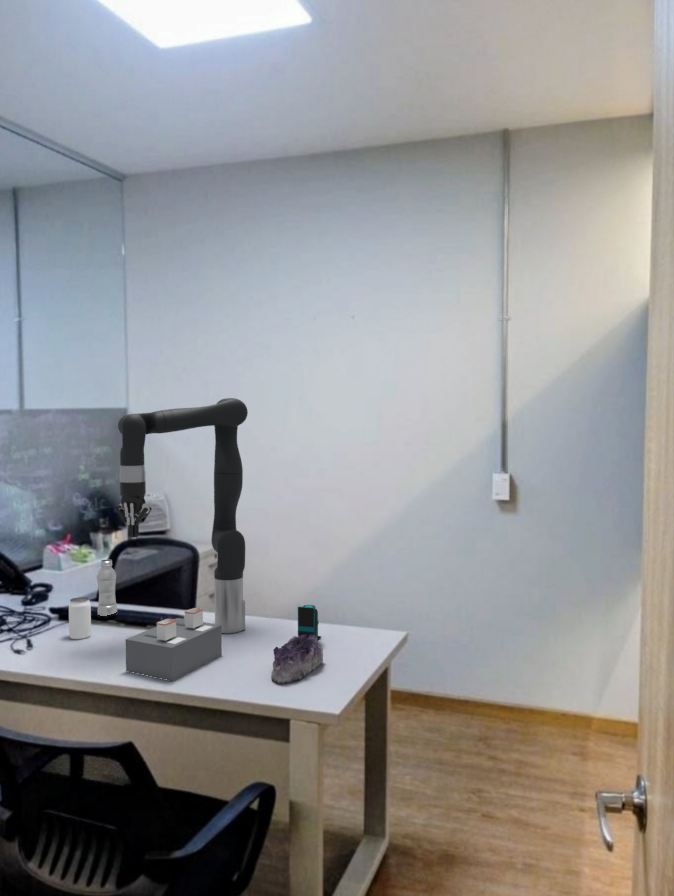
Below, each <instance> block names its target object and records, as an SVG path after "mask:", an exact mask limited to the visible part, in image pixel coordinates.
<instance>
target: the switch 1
mask: <svg viewBox="0 0 674 896" xmlns="http://www.w3.org/2000/svg"><path fill="white" fill-rule="evenodd" d="M174 619H175V618H174ZM174 619H173V618H165V619H163V620H159V621H157V622H156V623H155V624H156V627H157V639H159V640H164V641H166V640H169V639H171V638H173V637H175V636H176V620H174Z"/></svg>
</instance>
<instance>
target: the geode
mask: <svg viewBox="0 0 674 896" xmlns="http://www.w3.org/2000/svg"><path fill="white" fill-rule="evenodd" d="M323 650H324V649H323V648H322V647H321V646H319V645H318V641H317V638H316V636H315V635H309V637H308V638H307V634H306V635H302V636H299V637H298V635H294V636H292V637H290V639H288V641H287V643H284V644H283V645H282V646H281V647H278V646H275V647H274V648H273V655H274V657H273V658H274V660H273V662H272V670H271V676H270V677H271V678H270V679H271V681H272V682H274V683H275V684H277V685H279V686H281V685H282V686H283V685H288V684H289V685H290V684H292V683H297V682H299V681H301V680H302V679H303V678H305V677H306V676H307V675H308V674H310V673H312V671H315V669H316V668H317V667H319V666H320V665H321V663H323V662H324V652H323Z"/></svg>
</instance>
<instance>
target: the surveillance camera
mask: <svg viewBox="0 0 674 896" xmlns="http://www.w3.org/2000/svg"><path fill="white" fill-rule="evenodd" d="M306 634H307V638H308V637H309V635H315V636H316V638H317V642H318V641H319V640H320V639H321V638H322V635H321V636H320V635H319V611H318V609H317V608H316V605H313V604H306V605H302V606H298V607H297V637H299V636H302V635H306Z"/></svg>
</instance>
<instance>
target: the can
mask: <svg viewBox="0 0 674 896" xmlns="http://www.w3.org/2000/svg"><path fill="white" fill-rule="evenodd" d="M69 601H70V602H69V604H68V633H69V634H68V636H69V639H71V640H76V641H77V640H86V639H87V638H88V639H89V638H90V637H91V636H92V635H91V634H92V617H91V616H92V612H91V610H92V609H91V602H90V598H89V597H86V596H78V597H73V598H71V599H70V600H69Z"/></svg>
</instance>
